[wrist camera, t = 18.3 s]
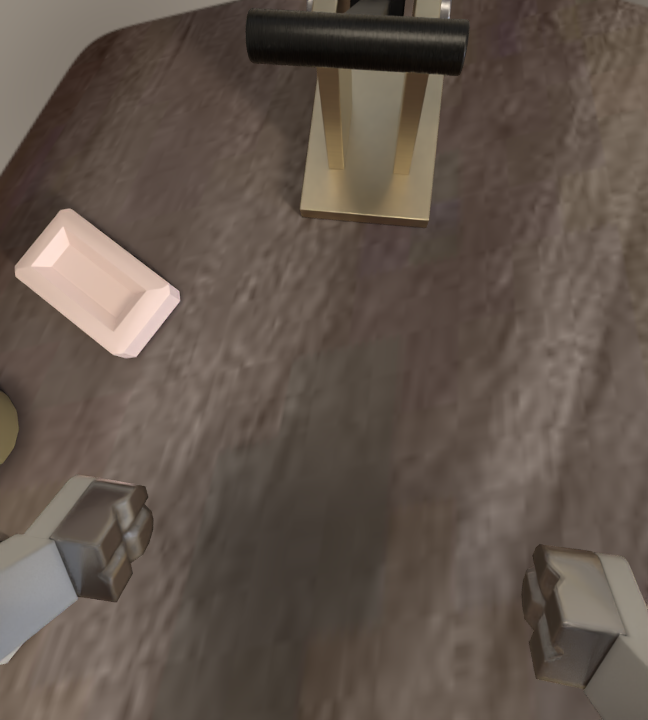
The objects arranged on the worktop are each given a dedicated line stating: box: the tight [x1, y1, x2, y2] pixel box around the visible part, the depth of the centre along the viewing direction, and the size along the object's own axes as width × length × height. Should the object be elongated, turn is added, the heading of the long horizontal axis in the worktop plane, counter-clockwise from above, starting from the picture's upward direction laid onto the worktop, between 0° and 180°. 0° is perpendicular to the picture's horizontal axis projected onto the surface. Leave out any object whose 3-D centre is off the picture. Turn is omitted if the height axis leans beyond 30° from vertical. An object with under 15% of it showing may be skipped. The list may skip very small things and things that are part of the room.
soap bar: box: [15, 209, 180, 358], centre depth 31 cm, size 5×9×2 cm, turn 53°
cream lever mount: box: [300, 0, 452, 228], centre depth 26 cm, size 10×8×13 cm
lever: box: [246, 0, 469, 76], centre depth 17 cm, size 13×6×2 cm
